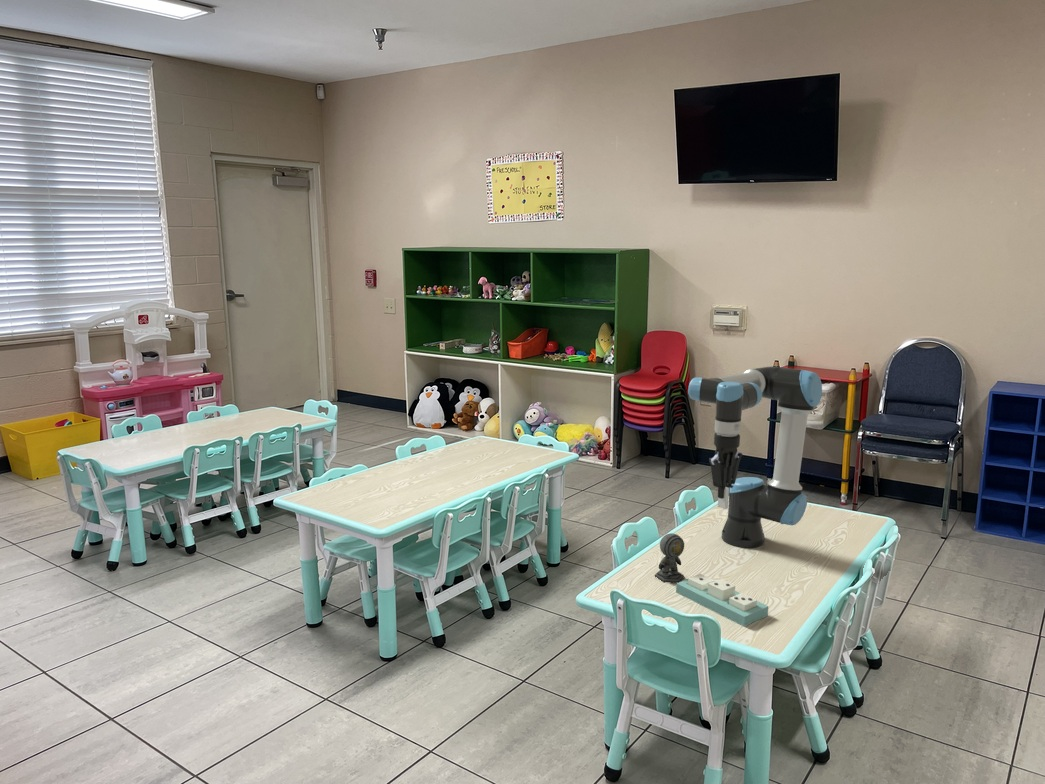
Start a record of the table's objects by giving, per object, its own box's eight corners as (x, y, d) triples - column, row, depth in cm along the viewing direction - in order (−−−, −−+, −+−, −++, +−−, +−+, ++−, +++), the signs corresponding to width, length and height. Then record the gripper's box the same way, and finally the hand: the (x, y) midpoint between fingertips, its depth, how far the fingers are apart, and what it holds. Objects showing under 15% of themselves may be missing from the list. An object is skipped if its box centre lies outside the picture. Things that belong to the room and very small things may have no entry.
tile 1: (687, 590, 243) (688, 577, 242) (699, 585, 246) (700, 573, 245) (701, 597, 238) (702, 584, 237) (713, 592, 242) (714, 579, 241)
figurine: (668, 585, 248) (670, 541, 245) (649, 573, 256) (651, 530, 253) (689, 580, 252) (692, 536, 248) (670, 568, 260) (672, 526, 257)
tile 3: (728, 610, 230) (729, 597, 229) (740, 605, 233) (741, 592, 232) (743, 618, 226) (744, 604, 225) (755, 612, 229) (756, 599, 228)
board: (676, 592, 243) (676, 583, 242) (699, 583, 249) (700, 574, 249) (743, 626, 223) (744, 616, 222) (767, 615, 229) (768, 606, 228)
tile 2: (707, 595, 236) (708, 583, 235) (719, 591, 239) (720, 578, 238) (722, 603, 232) (723, 589, 231) (734, 597, 235) (735, 585, 234)
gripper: (722, 439, 227) (718, 515, 232) (751, 432, 234) (746, 506, 239) (703, 434, 233) (699, 508, 238) (731, 427, 240) (727, 499, 245)
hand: (722, 507), depth 238 cm, fingers closed
